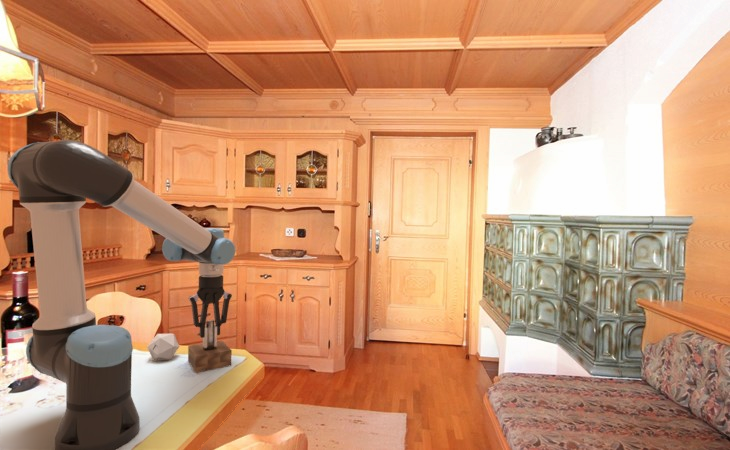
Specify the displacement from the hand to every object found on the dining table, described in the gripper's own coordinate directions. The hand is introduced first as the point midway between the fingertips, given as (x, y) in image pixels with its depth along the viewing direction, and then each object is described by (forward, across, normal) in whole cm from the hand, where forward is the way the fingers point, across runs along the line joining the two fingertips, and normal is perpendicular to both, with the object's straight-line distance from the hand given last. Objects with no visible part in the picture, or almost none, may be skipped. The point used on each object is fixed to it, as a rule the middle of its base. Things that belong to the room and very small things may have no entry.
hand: (209, 345), depth 125 cm
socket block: (+6, 0, 0) cm, 6 cm away
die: (+6, -12, +12) cm, 18 cm away
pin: (+4, 0, 0) cm, 4 cm away
